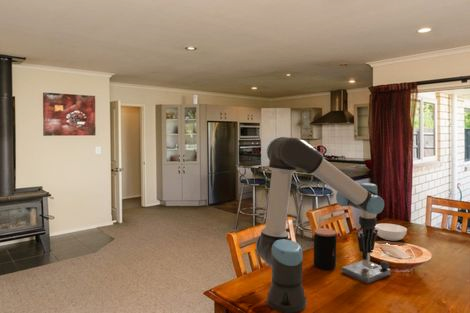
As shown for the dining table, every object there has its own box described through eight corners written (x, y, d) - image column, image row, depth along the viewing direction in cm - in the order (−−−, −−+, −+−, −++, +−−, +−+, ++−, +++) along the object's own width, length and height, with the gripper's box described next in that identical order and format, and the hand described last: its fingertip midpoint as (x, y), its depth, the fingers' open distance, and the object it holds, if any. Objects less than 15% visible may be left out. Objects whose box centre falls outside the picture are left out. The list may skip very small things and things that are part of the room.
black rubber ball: (385, 271, 151) (386, 263, 151) (378, 268, 154) (378, 260, 154) (390, 269, 153) (391, 261, 153) (383, 266, 156) (383, 258, 156)
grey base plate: (367, 283, 144) (367, 278, 144) (341, 272, 156) (342, 267, 155) (390, 274, 153) (390, 269, 153) (364, 264, 165) (364, 259, 164)
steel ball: (372, 272, 154) (374, 265, 154) (366, 269, 157) (367, 262, 157) (376, 273, 156) (378, 266, 156) (370, 270, 159) (371, 263, 159)
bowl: (377, 232, 218) (378, 221, 217) (408, 237, 207) (409, 226, 207) (371, 239, 203) (371, 228, 203) (403, 245, 192) (404, 233, 192)
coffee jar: (336, 272, 156) (337, 235, 154) (313, 270, 158) (314, 233, 157) (334, 263, 166) (335, 228, 165) (313, 261, 168) (313, 227, 167)
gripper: (366, 220, 146) (364, 271, 147) (383, 216, 153) (381, 265, 154) (351, 216, 152) (350, 266, 154) (369, 213, 159) (367, 260, 161)
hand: (366, 265), depth 154 cm, fingers closed
